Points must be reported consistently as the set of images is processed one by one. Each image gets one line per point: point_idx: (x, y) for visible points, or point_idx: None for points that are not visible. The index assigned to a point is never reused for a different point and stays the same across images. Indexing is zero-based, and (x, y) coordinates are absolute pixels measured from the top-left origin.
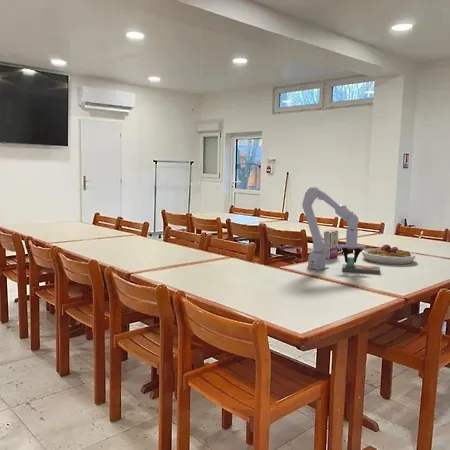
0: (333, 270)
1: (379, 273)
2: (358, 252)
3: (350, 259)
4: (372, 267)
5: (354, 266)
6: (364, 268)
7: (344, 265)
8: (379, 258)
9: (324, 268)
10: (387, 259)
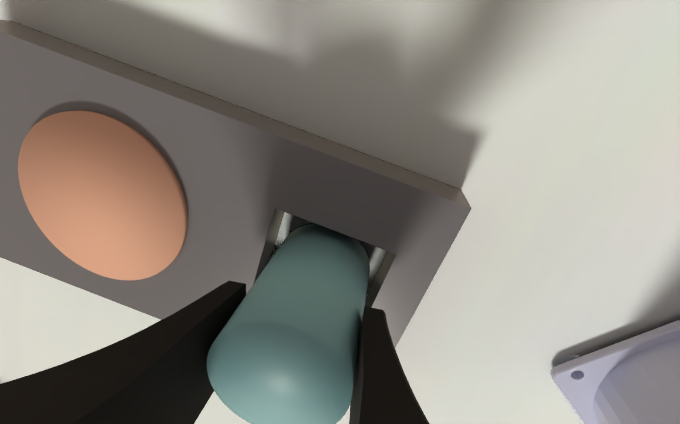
0: (554, 252)
1: (8, 21)
2: (13, 400)
3: (306, 313)
4: (45, 181)
5: None
6: (154, 146)
7: None
8: None
9: (643, 334)
10: None
